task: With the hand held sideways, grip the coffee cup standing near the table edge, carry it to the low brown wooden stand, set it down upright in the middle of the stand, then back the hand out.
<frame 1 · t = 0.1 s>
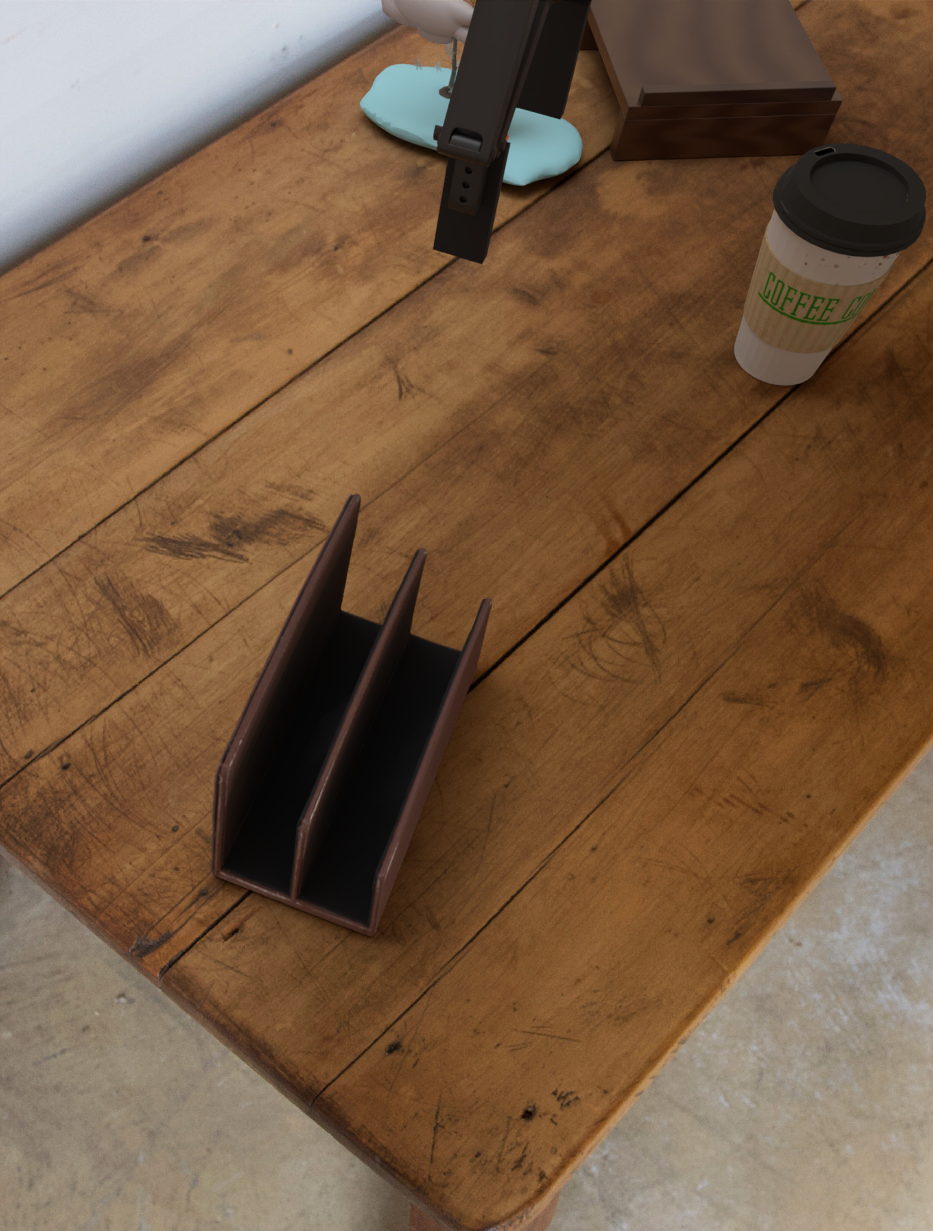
hand: (501, 178, 69), 24 cm above the table, tool pointing down, fingers open, 13 cm apart
coffee cup: (774, 358, 95), on the table
letter holder: (350, 768, 76), on the table
brown wooden stand: (689, 94, 113), on the table
penguin figurine: (466, 138, 109), on the table
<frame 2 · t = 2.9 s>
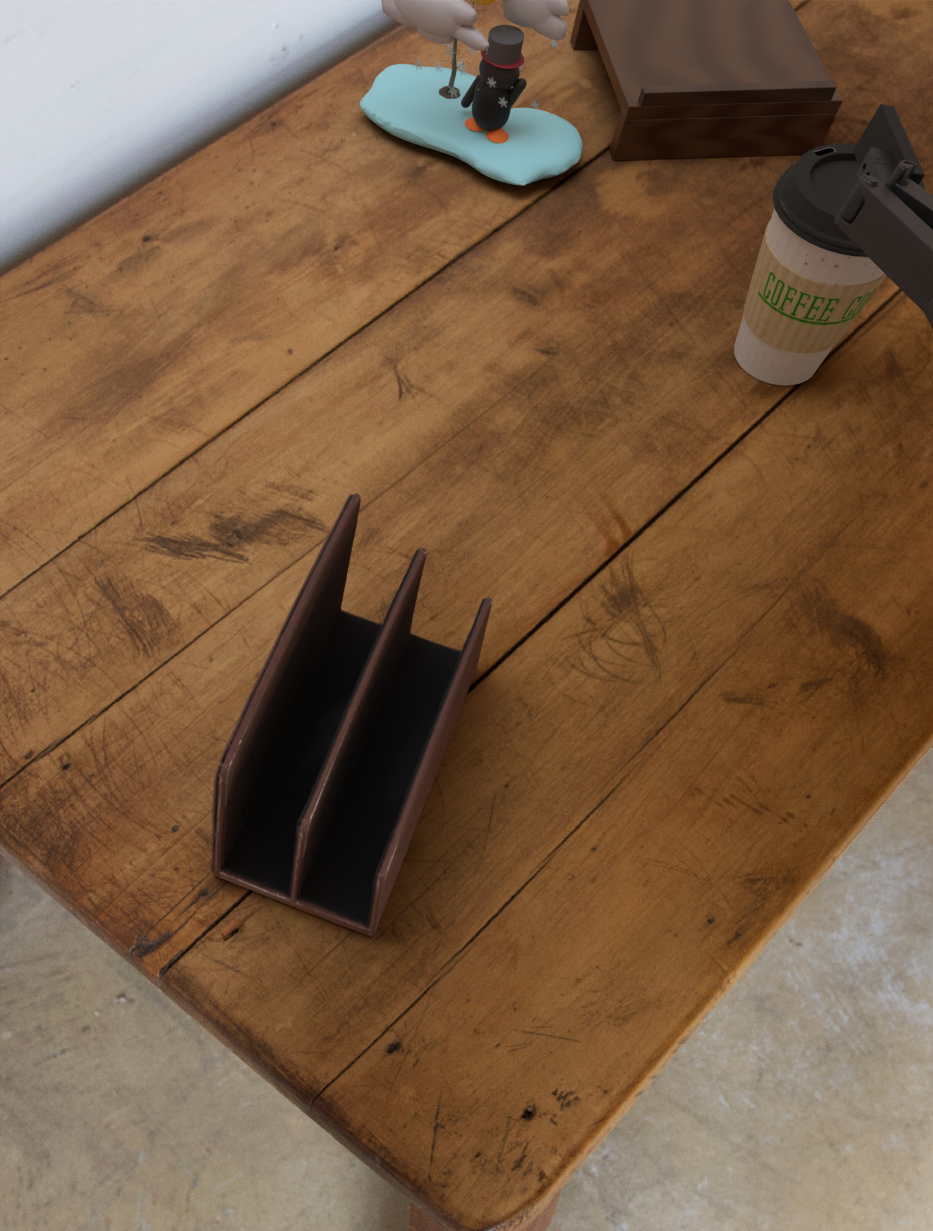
nothing on the table moved.
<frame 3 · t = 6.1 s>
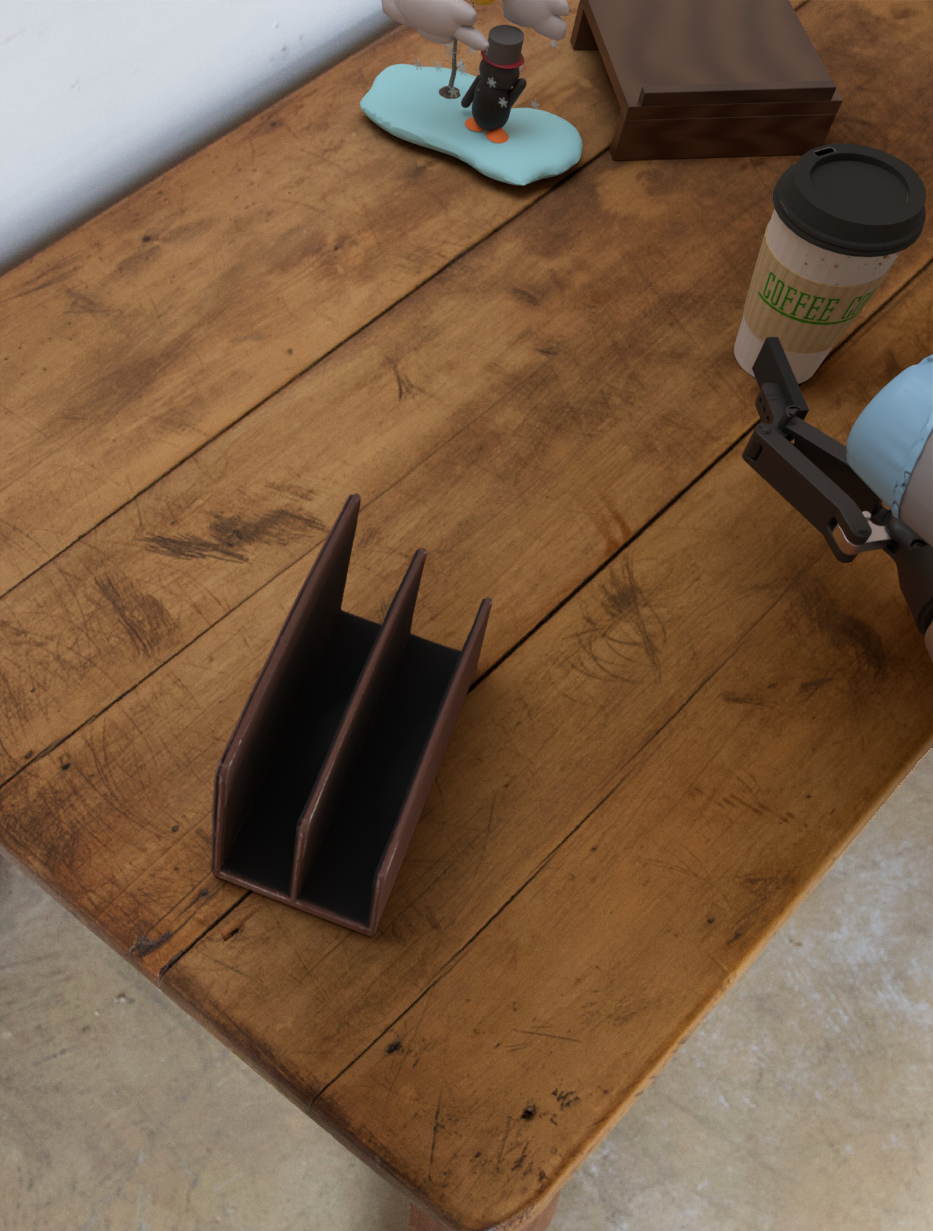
hand: (865, 348, 83), 9 cm above the table, tool horizontal, fingers open, 13 cm apart
nothing on the table moved.
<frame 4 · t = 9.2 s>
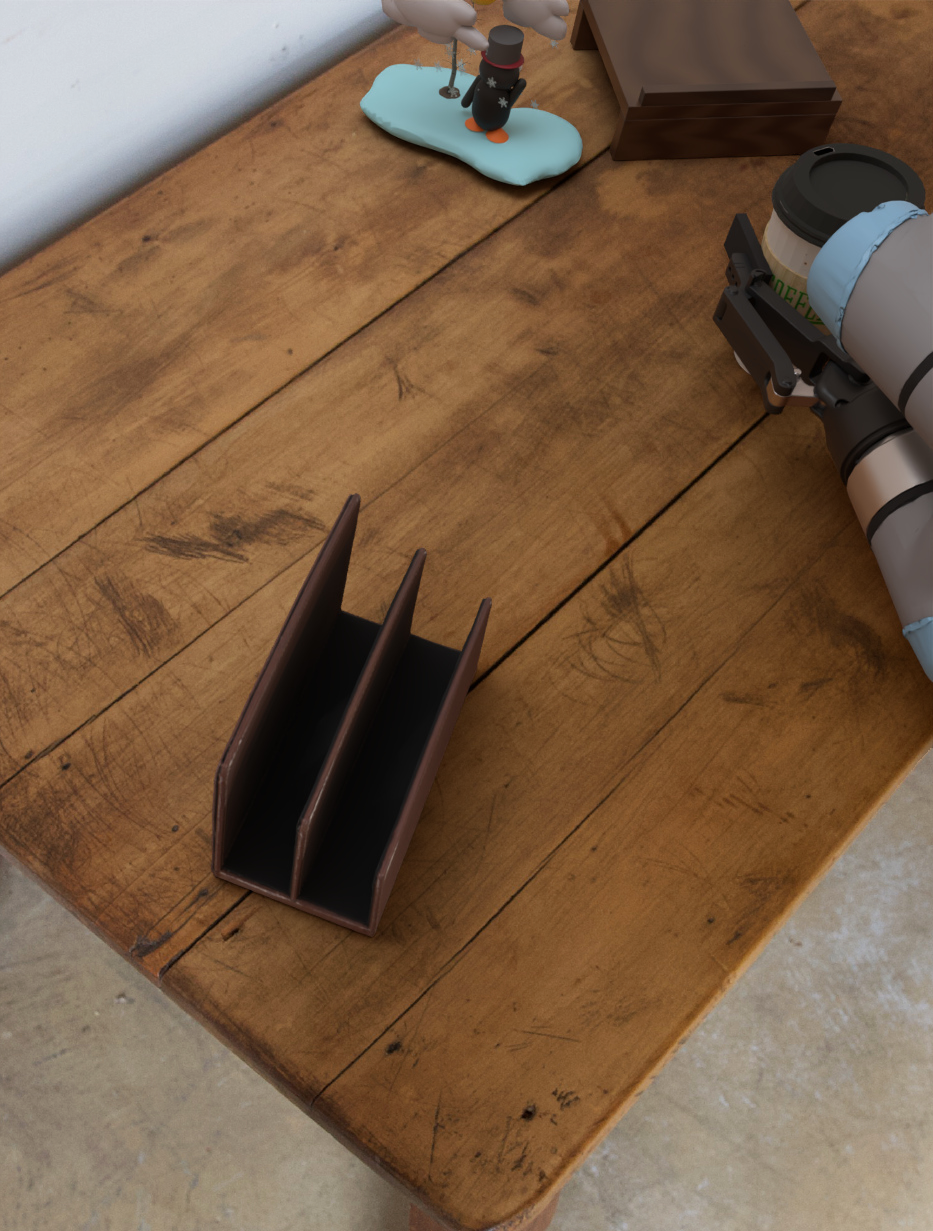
hand: (798, 227, 91), 8 cm above the table, tool horizontal, fingers closed on coffee cup, 9 cm apart
coffee cup: (774, 357, 95), on the table, touching gripper
everything else where it was.
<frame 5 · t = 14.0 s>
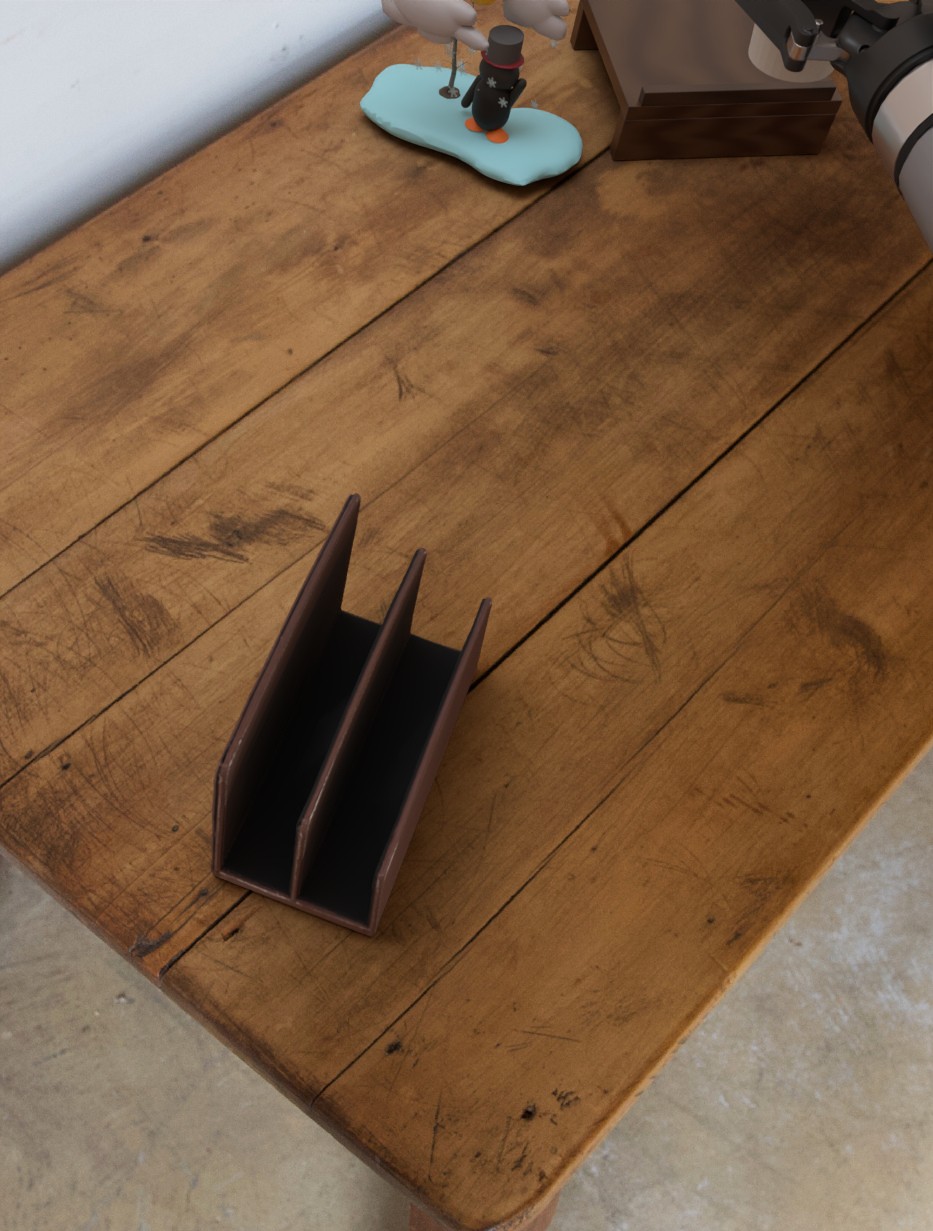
coffee cup: (790, 60, 92), point 14 cm above the table, touching gripper
everything else where it was.
when the fingers open (13 cm above the table, at t = 19.1 s): coffee cup stays where it is, resting on brown wooden stand.
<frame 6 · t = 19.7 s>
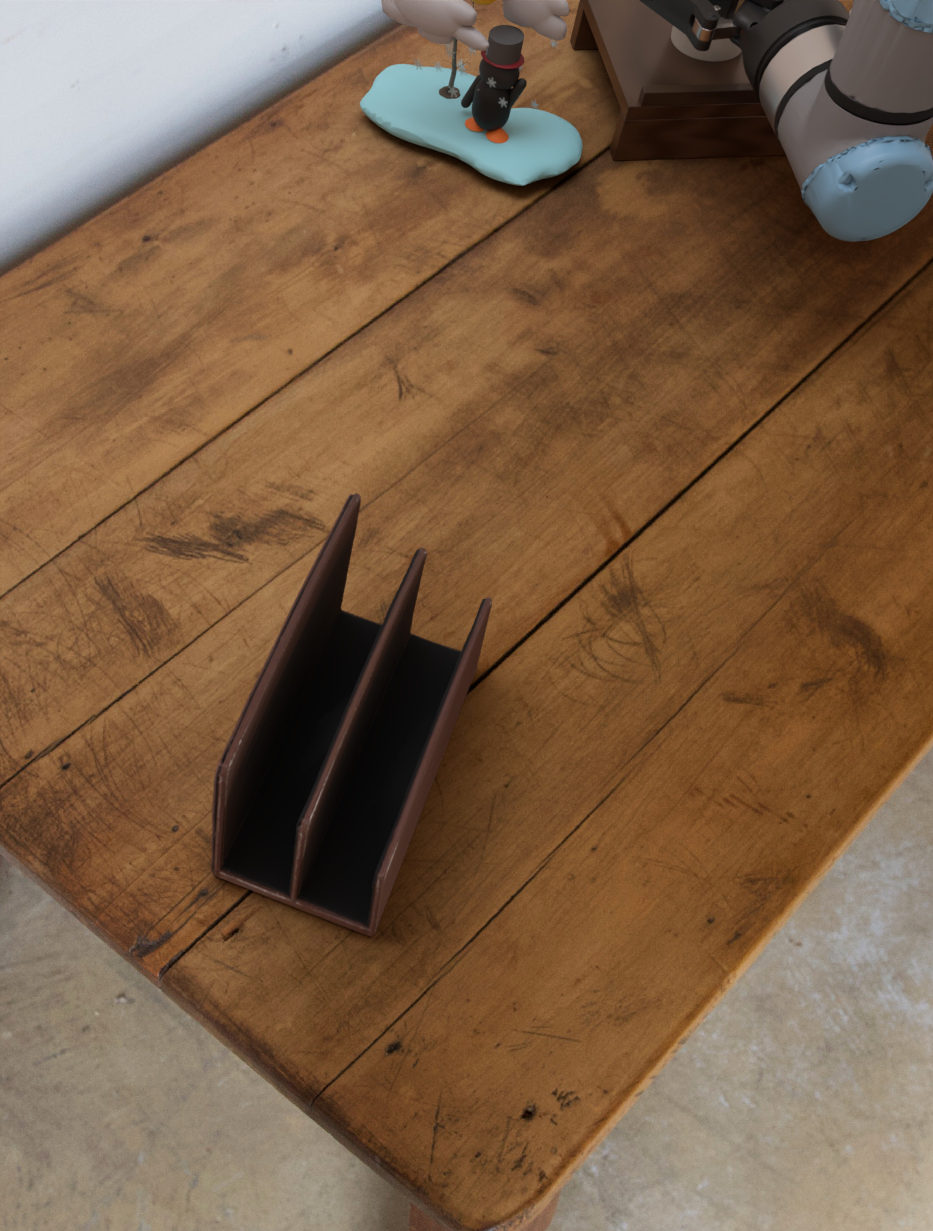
coffee cup: (706, 42, 109), point 5 cm above the table, touching brown wooden stand
everything else where it was.
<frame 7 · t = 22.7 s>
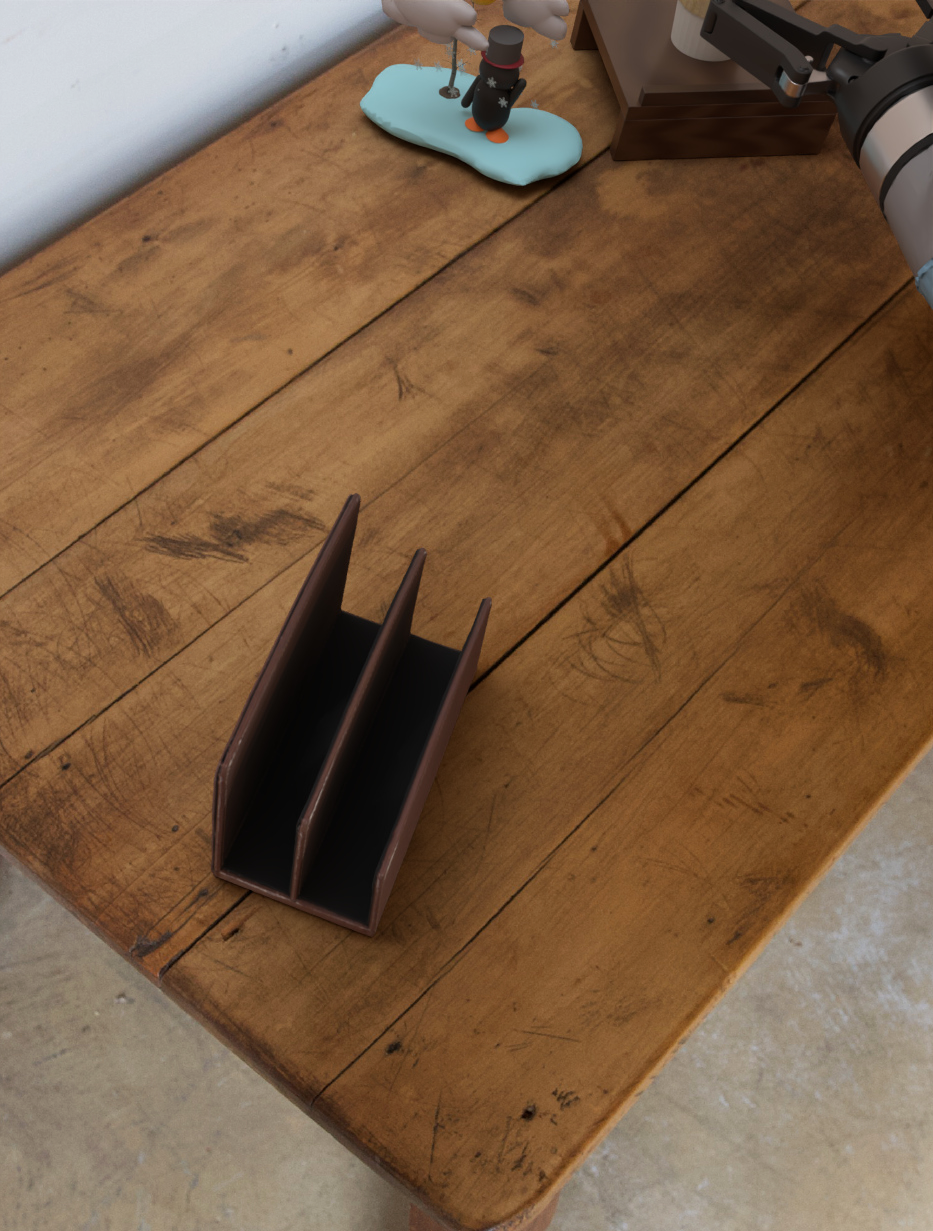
nothing on the table moved.
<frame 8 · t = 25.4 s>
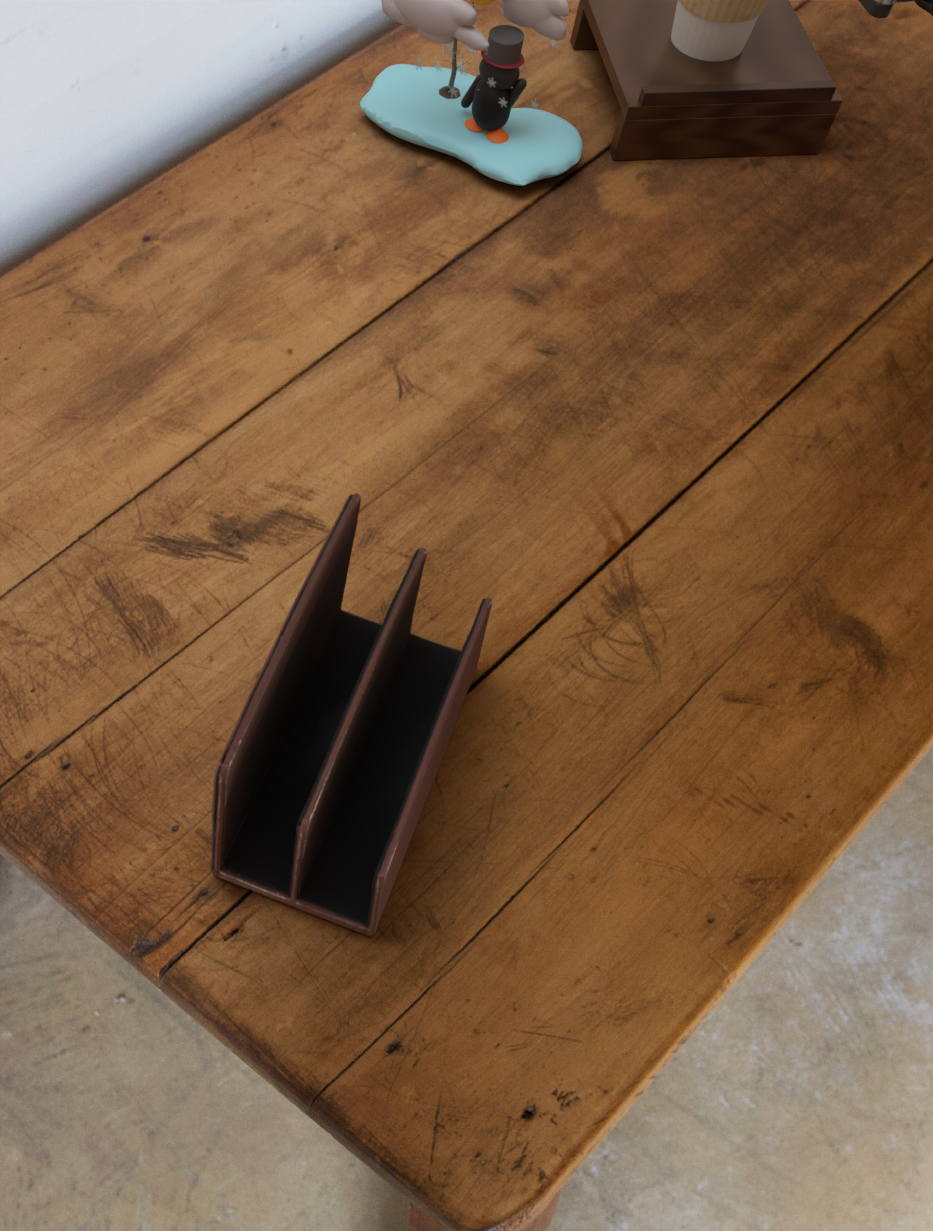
nothing on the table moved.
at the end: coffee cup inside the target area on the brown wooden stand (0.0 cm from its centre), point 4.8 cm above the brown wooden stand's base; coffee cup tilted 0°; the gripper is holding nothing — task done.
